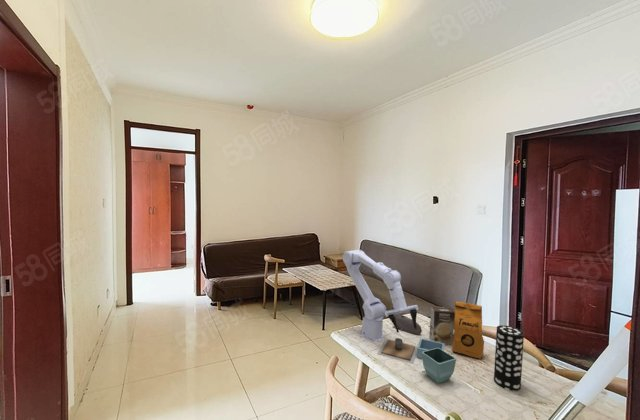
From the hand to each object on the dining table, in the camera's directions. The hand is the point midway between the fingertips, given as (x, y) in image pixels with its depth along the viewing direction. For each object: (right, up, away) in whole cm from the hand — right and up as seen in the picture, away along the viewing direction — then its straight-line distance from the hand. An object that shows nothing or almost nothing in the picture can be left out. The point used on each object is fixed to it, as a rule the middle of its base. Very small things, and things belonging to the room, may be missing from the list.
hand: (406, 330), depth 126 cm
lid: (-3, -9, +1) cm, 10 cm away
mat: (-3, -10, +1) cm, 10 cm away
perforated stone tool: (+7, -9, +21) cm, 24 cm away
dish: (+10, -10, -2) cm, 14 cm away
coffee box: (+19, -10, +10) cm, 24 cm away
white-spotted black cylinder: (+31, -12, -19) cm, 38 cm away
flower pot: (+6, -11, -17) cm, 22 cm away
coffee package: (+27, -11, +2) cm, 29 cm away
